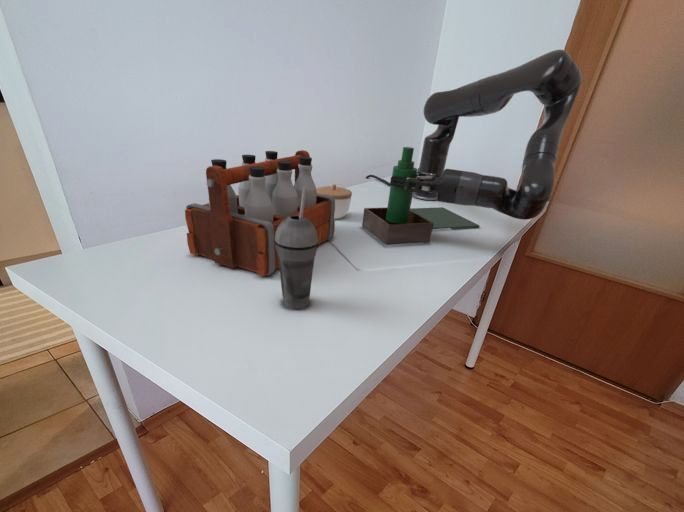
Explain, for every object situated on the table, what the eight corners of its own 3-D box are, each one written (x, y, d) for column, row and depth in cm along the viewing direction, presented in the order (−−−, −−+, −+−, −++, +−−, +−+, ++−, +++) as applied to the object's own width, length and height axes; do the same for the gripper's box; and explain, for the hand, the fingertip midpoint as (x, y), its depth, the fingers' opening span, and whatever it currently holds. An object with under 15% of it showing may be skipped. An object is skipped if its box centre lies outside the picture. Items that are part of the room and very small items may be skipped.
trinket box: (332, 210, 117) (334, 179, 111) (356, 219, 111) (360, 186, 105) (307, 215, 111) (308, 182, 105) (331, 225, 105) (333, 190, 99)
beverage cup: (276, 293, 69) (273, 180, 57) (315, 294, 70) (319, 182, 58) (275, 312, 63) (271, 191, 51) (316, 313, 64) (322, 193, 52)
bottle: (382, 217, 100) (392, 145, 90) (401, 216, 102) (413, 146, 92) (392, 224, 96) (403, 149, 85) (411, 223, 98) (425, 149, 87)
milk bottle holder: (338, 236, 98) (345, 155, 86) (259, 283, 72) (253, 177, 60) (274, 220, 105) (272, 144, 93) (180, 257, 79) (162, 159, 68)
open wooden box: (361, 227, 105) (364, 208, 102) (401, 225, 109) (405, 206, 106) (385, 246, 94) (388, 225, 90) (429, 243, 98) (433, 223, 94)
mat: (397, 211, 122) (397, 208, 121) (442, 209, 127) (443, 207, 127) (429, 230, 107) (430, 228, 106) (478, 228, 113) (479, 225, 112)
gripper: (467, 166, 92) (402, 158, 97) (461, 176, 81) (389, 166, 86) (459, 197, 97) (398, 188, 101) (452, 210, 86) (384, 199, 90)
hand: (394, 178), depth 93 cm, fingers closed on bottle, 6 cm apart
